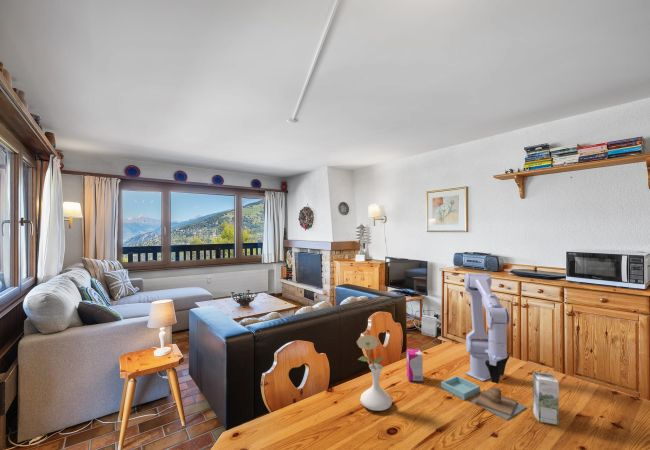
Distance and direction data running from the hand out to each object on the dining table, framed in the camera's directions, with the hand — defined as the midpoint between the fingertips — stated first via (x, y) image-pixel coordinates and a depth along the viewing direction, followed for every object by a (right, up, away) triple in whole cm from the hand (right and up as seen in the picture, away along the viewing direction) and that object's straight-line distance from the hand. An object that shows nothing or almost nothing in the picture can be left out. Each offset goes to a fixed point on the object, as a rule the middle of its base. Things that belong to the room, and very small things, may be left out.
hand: (497, 378), depth 109 cm
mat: (0, -9, 0) cm, 9 cm away
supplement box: (-25, -10, +19) cm, 32 cm away
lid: (0, -9, 0) cm, 9 cm away
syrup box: (+11, -10, -9) cm, 17 cm away
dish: (-9, -10, +9) cm, 16 cm away
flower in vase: (-45, -10, 0) cm, 46 cm away
